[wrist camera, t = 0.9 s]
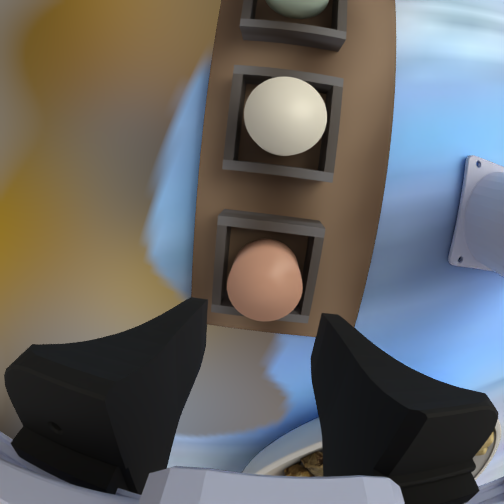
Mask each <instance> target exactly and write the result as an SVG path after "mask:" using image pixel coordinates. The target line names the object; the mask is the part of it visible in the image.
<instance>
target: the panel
mask: <svg viewBox="0 0 504 504" xmlns="http://www.w3.org/2000/svg"><path fill="white" fill-rule="evenodd" d="M395 73H396V11H395V0H329V2H328V5H327V7H326V8H325V9H324V11H323V12H321V13H320V14H318V15H316V16H314V17H311V18H307V19H294V18H289V17H285V16H283V15H280V14H278V13H277V12H275V11H274V10H272V9H271V8H270V7H269V5H268V4H267V2H266V1H265V0H221V6H220V11H219V17H218V23H217V29H216V35H215V42H214V48H213V55H212V62H211V69H210V76H209V83H208V91H207V99H206V107H205V116H204V125H203V134H202V144H201V154H200V164H199V176H198V188H197V200H196V214H195V230H194V247H193V267H192V292H191V297H194V298H201V299H208V310H207V324H209V325H216V326H223V327H231V328H238V329H246V330H255V331H262V332H271V333H280V334H290V335H300V336H311V337H316V335H317V331H318V326H319V322H320V318H321V313H329V314H338V315H339V316H341V317H342V318H343V319H345V320H346V321H347V322H348V323H349V324H351V325H352V326H353V327H354V326H355V323H356V319H357V315H358V312H359V308H360V304H361V300H362V296H363V293H364V289H365V284H366V280H367V276H368V272H369V267H370V263H371V258H372V254H373V249H374V244H375V239H376V234H377V229H378V224H379V218H380V213H381V207H382V201H383V195H384V188H385V181H386V174H387V167H388V159H389V151H390V142H391V132H392V122H393V109H394V94H395ZM275 77H293V78H297V79H300V80H302V81H305V82H306V83H308V84H310V85H311V86H312V87H313V88H314V89H315V90H316V91H317V92H318V93H319V94H320V96H321V97H322V99H323V101H324V104H325V107H326V111H327V123H326V128H325V131H324V133H323V135H322V137H321V138H320V139H319V141H318V142H317V143H316V144H315V145H314V146H313V147H311V148H310V149H308V150H306V151H304V152H302V153H299V154H295V155H290V156H279V155H274V154H271V153H269V152H267V151H265V150H263V149H262V148H261V147H260V146H259V145H258V144H257V143H256V142H255V141H254V140H253V139H252V137H251V136H250V134H249V133H248V131H247V128H246V126H245V121H244V109H245V104H246V101H247V99H248V97H249V95H250V94H251V92H252V91H253V90H254V89H255V88H256V87H257V86H258V85H259V84H261V83H263V82H264V81H266V80H269V79H272V78H275ZM264 238H267V239H274V240H277V241H280V242H282V243H284V244H285V245H287V246H288V247H289V248H290V249H291V250H292V252H293V253H294V254H295V256H296V259H297V262H298V266H299V270H300V274H301V279H302V286H303V289H302V295H301V298H300V301H299V303H298V304H297V306H296V307H295V308H294V309H293V310H292V311H291V312H290V313H289V314H288V315H286V316H284V317H283V318H280V319H278V320H274V321H256V320H253V319H250V318H247V317H246V316H244V315H242V314H241V313H240V312H238V311H237V310H236V309H235V307H234V306H233V305H232V303H231V301H230V299H229V296H228V293H227V280H228V277H229V274H230V271H231V268H232V265H233V263H234V260H235V258H236V255H237V254H238V252H239V251H240V250H241V248H243V247H244V246H245V245H246V244H248V243H249V242H251V241H254V240H257V239H264Z"/></svg>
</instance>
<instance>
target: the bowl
mask: <svg viewBox="0 0 504 504" xmlns="http://www.w3.org/2000/svg"><path fill="white" fill-rule="evenodd" d="M500 438H501V425H500V422H499V420H497V423H496V426H495V429H494V431H493V432H492V434H491V435H490V437H489V438H488V440H487V441H486V442H485V444H484V445H483V446H482V448H481V449H480V450H479V451H478V453H477V454H476V455H475V456H474V457H473V460H474V462H475V465H476V469H475V470H474V471H473V472H471V473H472V475H473V477H474V479H475V480H476V479H477V478H478V476H479V475H480V474H481V473H482V472H483V471H484V469H485V468H486V467H487V465H488V464H489V463H490V461H491V460H492V458H493V456H494V454H495V452H496V450H497V448H498V445H499V442H500ZM242 473H248V474H259V475H273V476H293V477H323V449H322V433H321V426H320V421H319V417H318V418H316V419H314V420H312V421H309V422H307V423H305V424H303V425H301V426H299V427H297V428H296V429H294V430H292V431H290V432H288V433H287V434H285V435H283V436H282V437H280V438H278V439H277V440H275V441H274V442H273V443H271V444H270V445H268V446H267V447H266V448H264V449H263V450H262V451H261V452H260V453H259V454H257V455H256V456H255V457H254V458H253V459H252V460H251V461H250V462H249V464H248V465H247V466H246V467H245V469H244V470H243V472H242Z"/></svg>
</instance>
